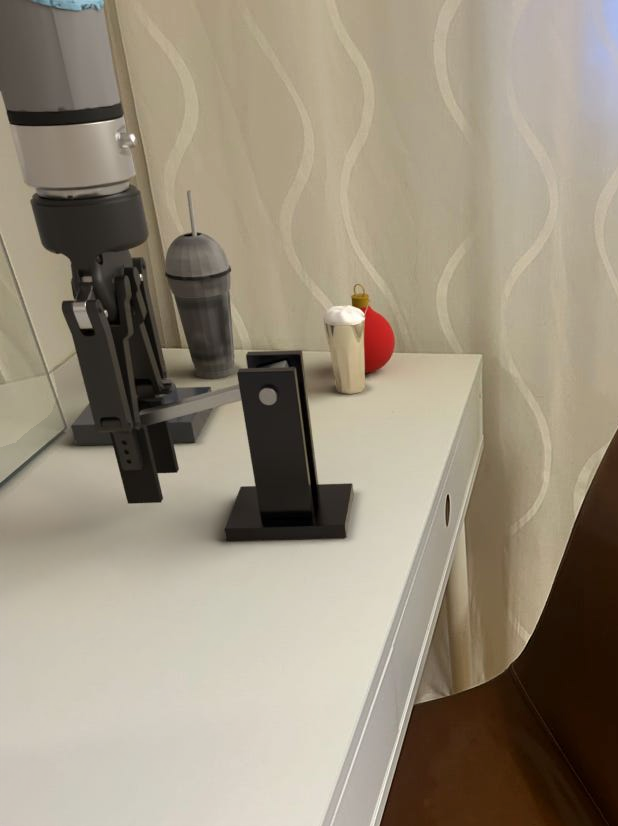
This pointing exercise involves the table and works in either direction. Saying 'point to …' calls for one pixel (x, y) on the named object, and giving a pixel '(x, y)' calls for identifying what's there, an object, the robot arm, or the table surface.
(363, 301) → the christmas ornament
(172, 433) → the control block
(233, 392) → the lever
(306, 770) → the table surface
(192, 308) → the beverage cup
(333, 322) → the milkshake
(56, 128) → the robot arm
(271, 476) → the bracket
